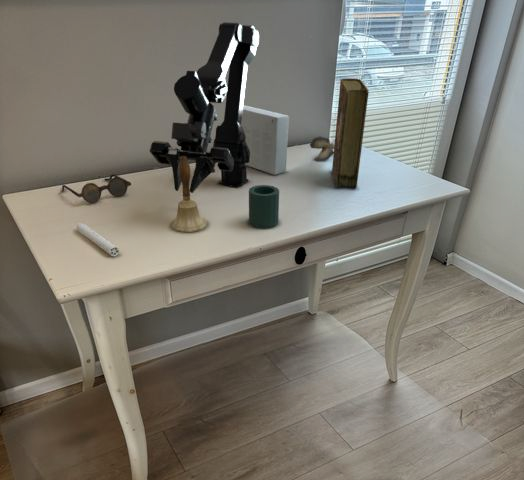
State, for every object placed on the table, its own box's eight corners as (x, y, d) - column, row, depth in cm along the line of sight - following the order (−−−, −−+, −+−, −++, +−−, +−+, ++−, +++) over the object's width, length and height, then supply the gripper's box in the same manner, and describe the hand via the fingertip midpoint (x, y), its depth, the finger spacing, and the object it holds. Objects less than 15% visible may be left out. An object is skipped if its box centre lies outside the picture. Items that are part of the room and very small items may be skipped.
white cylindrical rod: (74, 230, 115) (72, 220, 114) (82, 228, 116) (80, 218, 115) (110, 257, 105) (108, 247, 103) (119, 254, 106) (117, 244, 104)
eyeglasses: (81, 206, 127) (76, 187, 124) (58, 190, 136) (54, 172, 133) (132, 194, 134) (130, 175, 131) (108, 179, 143) (105, 161, 140)
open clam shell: (316, 147, 166) (304, 149, 159) (330, 130, 162) (317, 130, 155) (331, 164, 165) (319, 166, 158) (345, 147, 161) (334, 148, 154)
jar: (243, 224, 119) (243, 192, 114) (258, 215, 123) (258, 183, 118) (269, 231, 116) (269, 197, 111) (283, 220, 121) (284, 188, 116)
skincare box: (287, 172, 150) (290, 115, 140) (274, 175, 147) (276, 118, 137) (241, 156, 162) (240, 103, 152) (228, 159, 159) (227, 105, 149)
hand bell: (168, 221, 120) (160, 153, 110) (201, 216, 122) (196, 149, 113) (176, 234, 114) (168, 164, 104) (210, 229, 116) (206, 160, 106)
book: (331, 170, 151) (340, 78, 136) (349, 170, 151) (360, 78, 136) (336, 189, 138) (346, 89, 123) (356, 189, 138) (369, 90, 123)
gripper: (147, 102, 108) (130, 169, 106) (228, 108, 103) (211, 178, 102) (167, 131, 118) (151, 192, 117) (241, 138, 114) (226, 202, 113)
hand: (183, 191), depth 112 cm, fingers open, 3 cm apart
